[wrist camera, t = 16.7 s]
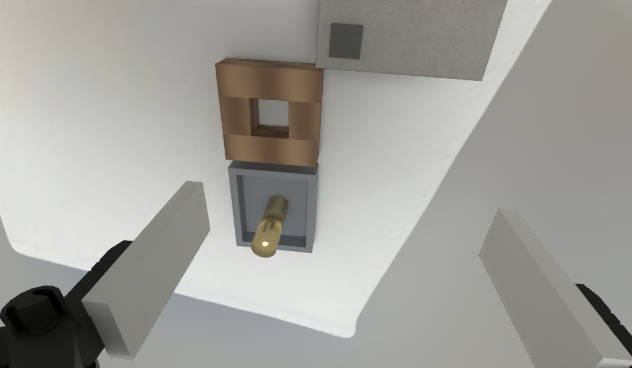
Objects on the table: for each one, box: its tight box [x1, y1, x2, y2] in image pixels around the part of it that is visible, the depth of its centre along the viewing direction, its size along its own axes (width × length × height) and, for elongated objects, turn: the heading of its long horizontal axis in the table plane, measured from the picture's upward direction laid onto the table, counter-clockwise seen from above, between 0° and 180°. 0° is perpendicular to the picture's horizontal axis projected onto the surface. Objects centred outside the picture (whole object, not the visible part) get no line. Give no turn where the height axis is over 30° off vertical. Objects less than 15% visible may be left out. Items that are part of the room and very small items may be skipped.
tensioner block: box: [215, 58, 323, 167], centre depth 40 cm, size 12×12×4 cm
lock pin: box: [251, 195, 289, 258], centre depth 44 cm, size 3×3×10 cm
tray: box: [228, 160, 318, 253], centre depth 48 cm, size 12×14×4 cm
